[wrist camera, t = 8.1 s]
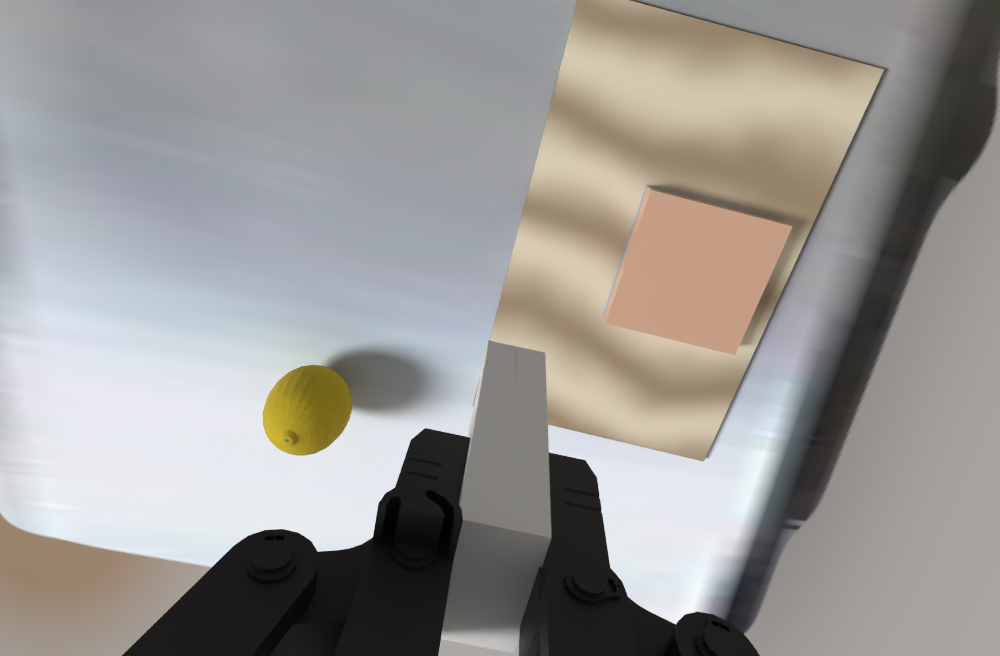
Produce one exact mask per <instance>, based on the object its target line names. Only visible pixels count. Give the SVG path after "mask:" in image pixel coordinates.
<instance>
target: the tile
mask: <svg viewBox="0 0 1000 656" xmlns="http://www.w3.org/2000/svg"><path fill="white" fill-rule="evenodd" d="M792 227H793V226H791V225H789V224H788V223H786V222H784V221H782V220H778V219H774V218H771V217H767V216H763V215H759V214H755V213H751V212H747V211H743V210H739V209H736V208H732V207H728V206H724V205H720V204H716V203H712V202H708V201H705V200H701V199H697V198H693V197H689V196H685V195H681V194H677V193H674V192H670V191H666V190H662V189H658V188H654V187H650V186H646V188H645V191H644V194H643V197H642V200H641V203H640V206H639V209H638V212H637V215H636V218H635V221H634V224H633V227H632V230H631V233H630V236H629V239H628V242H627V245H626V248H625V251H624V254H623V257H622V260H621V263H620V266H619V268H618V271H617V274H616V277H615V280H614V283H613V286H612V289H611V292H610V295H609V298H608V301H607V304H606V307H605V310H604V313H603V316H604V319H605V323H606V324H610V325H615V326H619V327H623V328H627V329H631V330H635V331H639V332H643V333H647V334H651V335H655V336H659V337H663V338H667V339H671V340H675V341H679V342H683V343H688V344H692V345H696V346H700V347H704V348H708V349H712V350H716V351H720V352H724V353H728V354H732V355H735V354H736V352H737V350H738V348H739V345H740V343H741V341H742V339H743V337H744V334H745V332H746V330H747V328H748V325H749V323H750V321H751V319H752V316H753V314H754V312H755V310H756V307H757V305H758V303H759V301H760V298H761V296H762V294H763V292H764V290H765V287H766V285H767V283H768V281H769V278H770V276H771V274H772V272H773V269H774V267H775V265H776V263H777V260H778V258H779V256H780V254H781V252H782V249H783V247H784V245H785V243H786V240H787V238H788V236H789V234H790V231H791V229H792Z"/></svg>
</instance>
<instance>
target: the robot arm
mask: <svg viewBox="0 0 1000 656" xmlns="http://www.w3.org/2000/svg"><path fill="white" fill-rule="evenodd" d="M519 636H520V637H519ZM518 638H519V656H760V655H759V654H758V652H757V651H756V649H755V648H754V646H753V645H752V644H751V643H750V641H749V640H748V639H747V637H746V636H745V635H744V634H743V633H742V632H741V631H739V630H738V629H737V628H736V627H734V626H733V625H732V624H731V623H729V622H728V621H725V620H723V619H721V618H719V617H717V616H715V615H713V614H707V613H701V612H695V613H690V614H686V615H684V616H683V617H682V618H681V619H680V620H679V621H678V622H677V624H676V625H675V624H673V623H671V622H669V621H667V620H665V619H663V618H661V617H659V616H657V615H655V614H653V613H651V612H649V611H647V610H645V609H644V608H642V607H640V606H639V605H637V604H636V603H635V602H633V601H632V600H631V599H630V598H629V597H627V593H626V591H625V588H624V586H623V583H622V581H621V580H620V579H619V578H618V576H617V575H616V574H615V573H614V572H613V570H612V569H610V564H609V557H608V550H607V544H606V537H605V530H604V523H603V517H602V513H601V503H600V498H599V490H598V483H597V477H596V476H595V474H594V473H593V471H592V470H591V468H590V467H589V465H588V464H587V462H586V461H585V460H581V459H576V458H572V457H567V456H562V455H557V454H553V453H549V448H548V418H547V388H546V359H545V352H540V351H535V350H531V349H526V348H522V347H517V346H512V345H508V344H503V343H498V342H494V341H488V346H487V350H486V354H485V359H484V363H483V368H482V372H481V376H480V381H479V385H478V390H477V394H476V398H475V403H474V407H473V411H472V416H471V420H470V425H469V429H468V435H467V437H464V436H460V435H455V434H450V433H445V432H441V431H436V430H431V429H426V428H425V429H424V430H422V431H421V432H420V433H419V434H418V435H417V436H415V437H414V438H413V439H412V440H411V442H410V445H409V448H408V451H407V454H406V457H405V460H404V463H403V466H402V469H401V473H400V475H399V478H398V481H397V484H396V487H395V488H394V489H392V490H391V491H389V492H387V493H386V494H385V495H384V497H383V498H382V500H381V501H380V502H379V505H378V511H377V517H376V523H375V529H374V536H373V538H372V539H370V540H368V541H367V542H365V543H364V544H362V545H359V546H356V547H353V548H350V549H344V550H338V551H323V552H317V550H316V549H315V547H314V545H313V544H312V542H311V541H310V540H309V539H307V538H305V537H304V536H302V535H301V534H299V533H296V532H292V531H288V530H284V529H279V530H264V531H261V532H258V533H255V534H252V535H249V536H247V537H246V538H244V539H243V540H242V541H240V542H239V543H237V544H236V545H234V546H233V547H232V548H231V549H230V550H229V551H228V552H227V553H226V554H225V555H224V556H223V557H222V558H221V559H220V560H219V561H218V562H217V563H216V564H215V565H214V566H213V567H212V568H211V569H210V570H209V571H208V572H207V573H206V574H205V575H204V576H203V577H202V578H201V579H200V580H199V581H198V582H197V583H196V584H195V585H194V586H193V587H192V588H191V589H189V591H187V592H186V593H185V594H184V595H183V596H182V597H181V598H180V599H179V600H178V601H177V602H176V603H175V604H174V605H173V606H172V607H171V608H170V609H169V610H168V611H167V612H166V613H165V614H164V615H163V616H162V617H161V618H160V619H159V620H158V621H157V622H156V623H155V624H154V625H153V626H152V627H151V628H150V629H149V630H148V631H147V632H146V633H145V634H144V635H143V636H142V637H141V638H140V639H139V640H138V641H137V642H136V643H134V644H133V645H132V646H131V648H129V649H128V651H126V652H125V653H124V654H123V655H122V656H438V653H439V647H440V640H441V639H443V640H448V641H453V642H459V643H464V644H468V645H474V646H479V647H484V648H489V649H494V650H499V651H504V652H509V653H514V651H515V648H516V645H517V642H518Z"/></svg>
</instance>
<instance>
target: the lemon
mask: <svg viewBox="0 0 1000 656" xmlns="http://www.w3.org/2000/svg"><path fill="white" fill-rule="evenodd" d="M351 410H352V395H351V392H350V389H349V386H348V384H347V383H346V381H345V380H344V378H343V377H342V376H340V375H339V374H338V373H337V372H335V371H334V370H332V369H330V368H327V367H324V366H318V365H309V366H302V367H300V368H297V369H295V370H292V371H291V372H289V373H288V374H286V375H285V376H284V377H282V378H281V379H280V380H279V381H278V382H277V383H276V385H275V386H274V388H273V389H272V390H271V392H270V394H269V395H268V398H267V401H266V404H265V407H264V410H263V426H264V429H265V432H266V435H267V436H268V438H269V440H270V441H271V442H272V443H273V444H274V445H275V446H276V447H277V448H279V449H280V450H282V451H284V452H286V453H289V454H293V455H309V454H314V453H317V452H319V451H321V450H323V449H325V448H326V447H328V446H329V445H330V444H331V443H332V442H333V441H335V440H336V439H337V438H338V437H339V436H340V434H341V433H342V432H343V430H344V428H345V427H346V425H347V423H348V421H349V418H350V414H351Z"/></svg>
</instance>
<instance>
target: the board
mask: <svg viewBox="0 0 1000 656" xmlns="http://www.w3.org/2000/svg"><path fill="white" fill-rule="evenodd" d="M883 71H884V69H881V68H877V67H873V66H870V65H866V64H862V63H859V62H855V61H851V60H848V59H844V58H840V57H837V56H833V55H829V54H825V53H822V52H818V51H814V50H811V49H807V48H803V47H800V46H796V45H792V44H789V43H785V42H781V41H778V40H774V39H770V38H767V37H763V36H759V35H755V34H752V33H748V32H744V31H741V30H737V29H733V28H730V27H726V26H722V25H719V24H715V23H711V22H708V21H704V20H700V19H697V18H693V17H689V16H686V15H682V14H678V13H674V12H671V11H667V10H663V9H660V8H656V7H652V6H649V5H645V4H641V3H638V2H634V1H630V0H578V1H577V5H576V9H575V12H574V16H573V20H572V24H571V28H570V32H569V36H568V40H567V43H566V47H565V51H564V55H563V59H562V63H561V67H560V70H559V74H558V78H557V82H556V86H555V90H554V94H553V98H552V101H551V105H550V109H549V113H548V117H547V121H546V125H545V129H544V132H543V136H542V140H541V144H540V148H539V152H538V156H537V159H536V163H535V167H534V171H533V175H532V179H531V183H530V187H529V190H528V194H527V198H526V202H525V206H524V210H523V214H522V218H521V221H520V225H519V229H518V233H517V237H516V241H515V245H514V249H513V252H512V256H511V260H510V264H509V268H508V272H507V276H506V279H505V283H504V287H503V291H502V295H501V299H500V303H499V307H498V310H497V314H496V318H495V322H494V326H493V330H492V334H491V338H490V341H494V342H498V343H503V344H508V345H512V346H517V347H522V348H526V349H531V350H535V351H540V352H545V359H546V388H547V418H548V424H549V425H553V426H557V427H561V428H565V429H570V430H574V431H578V432H582V433H586V434H591V435H595V436H599V437H603V438H608V439H612V440H616V441H620V442H624V443H629V444H633V445H637V446H641V447H645V448H650V449H654V450H658V451H662V452H666V453H671V454H675V455H679V456H683V457H687V458H692V459H696V460H700V461H704V460H705V458H706V455H707V453H708V451H709V449H710V447H711V445H712V442H713V440H714V438H715V436H716V434H717V432H718V429H719V427H720V425H721V423H722V421H723V419H724V416H725V414H726V412H727V410H728V408H729V406H730V403H731V401H732V399H733V397H734V395H735V392H736V390H737V388H738V386H739V384H740V382H741V379H742V377H743V375H744V373H745V371H746V369H747V366H748V364H749V362H750V360H751V358H752V356H753V353H754V351H755V349H756V347H757V345H758V343H759V340H760V338H761V336H762V334H763V332H764V329H765V327H766V325H767V323H768V321H769V319H770V316H771V314H772V312H773V310H774V308H775V306H776V303H777V301H778V299H779V297H780V295H781V293H782V290H783V288H784V286H785V284H786V282H787V280H788V277H789V275H790V273H791V271H792V269H793V267H794V264H795V262H796V260H797V258H798V256H799V253H800V251H801V249H802V247H803V245H804V243H805V240H806V238H807V236H808V234H809V232H810V230H811V227H812V225H813V223H814V221H815V219H816V217H817V214H818V212H819V210H820V208H821V206H822V204H823V201H824V199H825V197H826V195H827V193H828V190H829V188H830V186H831V184H832V182H833V180H834V177H835V175H836V173H837V171H838V169H839V167H840V164H841V162H842V160H843V158H844V156H845V154H846V151H847V149H848V147H849V145H850V143H851V141H852V138H853V136H854V134H855V132H856V130H857V128H858V125H859V123H860V121H861V119H862V117H863V114H864V112H865V110H866V108H867V106H868V104H869V101H870V99H871V97H872V95H873V93H874V91H875V88H876V86H877V84H878V82H879V80H880V78H881V75H882V73H883ZM646 186H650V187H654V188H658V189H662V190H666V191H670V192H674V193H677V194H681V195H685V196H689V197H693V198H697V199H701V200H705V201H708V202H712V203H716V204H720V205H724V206H728V207H732V208H736V209H739V210H743V211H747V212H751V213H755V214H759V215H763V216H767V217H771V218H774V219H778V220H782V221H784V222H786V223H788V224H789V225H791V226H793V227H792V229H791V231H790V234H789V236H788V238H787V240H786V243H785V245H784V247H783V249H782V252H781V254H780V256H779V258H778V260H777V263H776V265H775V267H774V269H773V272H772V274H771V276H770V278H769V281H768V283H767V285H766V287H765V290H764V292H763V294H762V296H761V298H760V301H759V303H758V305H757V307H756V310H755V312H754V314H753V316H752V319H751V321H750V323H749V325H748V328H747V330H746V332H745V334H744V337H743V339H742V341H741V343H740V345H739V348H738V350H737V352H736V354H735V355H732V354H728V353H724V352H720V351H716V350H712V349H708V348H704V347H700V346H696V345H692V344H688V343H683V342H679V341H675V340H671V339H667V338H663V337H659V336H655V335H651V334H647V333H643V332H639V331H635V330H631V329H627V328H623V327H619V326H615V325H610V324H606V323H605V319H604V316H603V313H604V310H605V307H606V304H607V301H608V298H609V295H610V292H611V289H612V286H613V283H614V280H615V277H616V274H617V271H618V268H619V266H620V263H621V260H622V257H623V254H624V251H625V248H626V245H627V242H628V239H629V236H630V233H631V230H632V227H633V224H634V221H635V218H636V215H637V212H638V209H639V206H640V203H641V200H642V197H643V194H644V191H645V188H646ZM479 381H480V380H479ZM478 385H479V384H478ZM477 390H478V388H477ZM476 394H477V392H476ZM475 398H476V396H475ZM474 403H475V399H474ZM474 403H473V407H474Z"/></svg>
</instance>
